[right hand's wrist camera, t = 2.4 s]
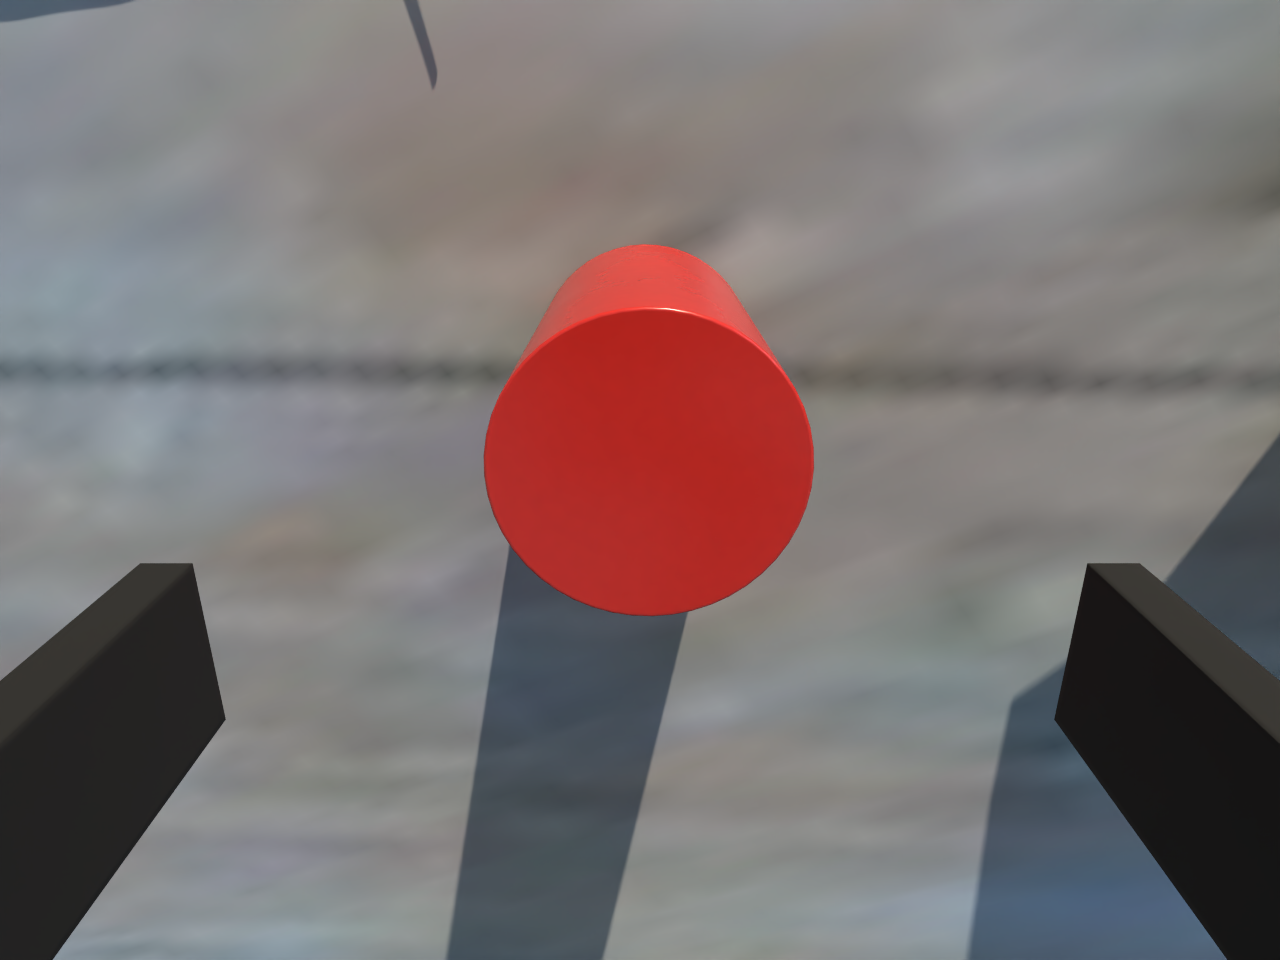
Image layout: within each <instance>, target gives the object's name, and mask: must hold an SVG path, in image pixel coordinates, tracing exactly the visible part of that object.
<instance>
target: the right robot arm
mask: <svg viewBox="0 0 1280 960" xmlns="http://www.w3.org/2000/svg"><path fill="white" fill-rule="evenodd" d="M225 720H226V719H225V714H224V709H223V705H222V700H221V695H220V691H219V686H218V681H217V676H216V672H215V667H214V662H213V658H212V653H211V648H210V644H209V639H208V634H207V629H206V625H205V620H204V615H203V611H202V606H201V601H200V596H199V592H198V587H197V582H196V578H195V573H194V568H193V563H140V564H139V565H138V566H137V567H135V568H134V569H133V570H132V571H131V572H130V573H128V574H127V575H126V576H125V577H124V578H122V579H121V580H120V581H119V582H118V583H116V584H115V585H114V586H113V587H112V588H110V589H109V590H108V591H107V592H106V593H105V594H103V595H102V596H101V597H100V598H99V599H97V600H96V601H95V602H94V603H93V604H91V605H90V606H89V607H88V608H87V609H85V610H84V611H83V612H82V613H81V614H79V615H78V616H77V617H76V618H75V619H74V620H72V621H71V622H70V623H69V624H68V625H66V626H65V627H64V628H63V629H62V630H60V631H59V632H58V633H57V634H56V635H54V636H53V637H52V638H51V639H50V640H49V641H47V642H46V643H45V644H44V645H43V646H41V647H40V648H39V649H38V650H37V651H35V652H34V653H33V654H32V655H31V656H29V657H28V658H27V659H26V660H25V661H24V662H22V663H21V664H20V665H19V666H18V667H16V668H15V669H14V670H13V671H12V672H10V673H9V674H8V675H7V676H6V677H4V678H3V679H2V680H1V681H0V960H53V958H54V957H55V956H56V954H57V953H58V951H59V950H60V949H61V947H62V946H63V945H64V943H65V942H66V940H67V939H68V938H69V936H70V935H71V933H72V932H73V931H74V929H75V928H76V926H77V925H78V924H79V922H80V921H81V920H82V918H83V917H84V915H85V914H86V913H87V911H88V910H89V908H90V907H91V906H92V904H93V903H94V901H95V900H96V899H97V897H98V896H99V895H100V893H101V892H102V890H103V889H104V888H105V886H106V885H107V883H108V882H109V881H110V879H111V878H112V876H113V875H114V874H115V872H116V871H117V870H118V868H119V867H120V865H121V864H122V863H123V861H124V860H125V858H126V857H127V856H128V854H129V853H130V851H131V850H132V849H133V847H134V846H135V845H136V843H137V842H138V840H139V839H140V838H141V836H142V835H143V833H144V832H145V831H146V829H147V828H148V826H149V825H150V824H151V822H152V821H153V820H154V818H155V817H156V815H157V814H158V813H159V811H160V810H161V808H162V807H163V806H164V804H165V803H166V801H167V800H168V799H169V797H170V796H171V795H172V793H173V792H174V790H175V789H176V788H177V786H178V785H179V783H180V782H181V781H182V779H183V778H184V776H185V775H186V774H187V772H188V771H189V770H190V768H191V767H192V765H193V764H194V763H195V761H196V760H197V758H198V757H199V756H200V754H201V753H202V751H203V750H204V749H205V747H206V746H207V745H208V743H209V742H210V740H211V739H212V738H213V736H214V735H215V733H216V732H217V731H218V729H219V728H220V726H221V725H222V724H223V722H224V721H225ZM1054 720H1055V721H1056V722H1057V724H1058V725H1059V726H1060V728H1061V729H1062V731H1063V732H1064V733H1065V735H1066V736H1067V738H1068V739H1069V740H1070V742H1071V743H1072V745H1073V746H1074V747H1075V749H1076V750H1077V751H1078V753H1079V754H1080V756H1081V757H1082V758H1083V760H1084V761H1085V763H1086V764H1087V765H1088V767H1089V768H1090V770H1091V771H1092V772H1093V774H1094V775H1095V776H1096V778H1097V779H1098V781H1099V782H1100V783H1101V785H1102V786H1103V788H1104V789H1105V790H1106V792H1107V793H1108V795H1109V796H1110V797H1111V799H1112V800H1113V801H1114V803H1115V804H1116V806H1117V807H1118V808H1119V810H1120V811H1121V813H1122V814H1123V815H1124V817H1125V818H1126V820H1127V821H1128V822H1129V824H1130V825H1131V826H1132V828H1133V829H1134V831H1135V832H1136V833H1137V835H1138V836H1139V838H1140V839H1141V840H1142V842H1143V843H1144V845H1145V846H1146V847H1147V849H1148V850H1149V851H1150V853H1151V854H1152V856H1153V857H1154V858H1155V860H1156V861H1157V863H1158V864H1159V865H1160V867H1161V868H1162V870H1163V871H1164V872H1165V874H1166V875H1167V876H1168V878H1169V879H1170V881H1171V882H1172V883H1173V885H1174V886H1175V888H1176V889H1177V890H1178V892H1179V893H1180V895H1181V896H1182V897H1183V899H1184V900H1185V901H1186V903H1187V904H1188V906H1189V907H1190V908H1191V910H1192V911H1193V913H1194V914H1195V915H1196V917H1197V918H1198V920H1199V921H1200V922H1201V924H1202V925H1203V926H1204V928H1205V929H1206V931H1207V932H1208V933H1209V935H1210V936H1211V938H1212V939H1213V940H1214V942H1215V943H1216V945H1217V946H1218V947H1219V949H1220V950H1221V951H1222V953H1223V954H1224V956H1225V957H1226V958H1227V960H1280V681H1279V680H1278V679H1277V678H1276V677H1274V676H1273V675H1272V674H1271V673H1270V672H1268V671H1267V670H1266V669H1265V668H1264V667H1262V666H1261V665H1260V664H1259V663H1258V662H1256V661H1255V660H1254V659H1253V658H1252V657H1251V656H1249V655H1248V654H1247V653H1246V652H1245V651H1243V650H1242V649H1241V648H1240V647H1239V646H1237V645H1236V644H1235V643H1234V642H1233V641H1231V640H1230V639H1229V638H1228V637H1227V636H1226V635H1224V634H1223V633H1222V632H1221V631H1220V630H1218V629H1217V628H1216V627H1215V626H1214V625H1212V624H1211V623H1210V622H1209V621H1208V620H1206V619H1205V618H1204V617H1203V616H1202V615H1201V614H1199V613H1198V612H1197V611H1196V610H1195V609H1193V608H1192V607H1191V606H1190V605H1189V604H1187V603H1186V602H1185V601H1184V600H1183V599H1181V598H1180V597H1179V596H1178V595H1177V594H1175V593H1174V592H1173V591H1172V590H1171V589H1170V588H1168V587H1167V586H1166V585H1165V584H1164V583H1162V582H1161V581H1160V580H1159V579H1158V578H1156V577H1155V576H1154V575H1153V574H1152V573H1150V572H1149V571H1148V570H1147V569H1146V568H1145V567H1143V566H1142V565H1141V564H1140V563H1087V568H1086V573H1085V578H1084V582H1083V587H1082V592H1081V596H1080V601H1079V606H1078V611H1077V615H1076V620H1075V625H1074V629H1073V634H1072V639H1071V644H1070V648H1069V653H1068V658H1067V662H1066V667H1065V672H1064V676H1063V681H1062V686H1061V691H1060V695H1059V700H1058V705H1057V709H1056V714H1055V719H1054Z"/></svg>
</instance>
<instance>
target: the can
mask: <svg viewBox="0 0 1280 960" xmlns="http://www.w3.org/2000/svg"><path fill="white" fill-rule="evenodd" d="M813 471H814V447H813V441H812V435H811V429H810V425H809V422H808V418H807V415H806V412H805V409H804V406H803V404H802V402H801V400H800V398H799V395H798V393H797V391H796V389H795V387H794V386H793V384H792V383H791V381H790V380H789V378H788V376H787V375H786V373H785V372H784V370H783V369H782V367H781V365H780V364H779V362H778V361H777V359H776V358H775V356H774V354H773V353H772V351H771V350H770V348H769V347H768V345H767V344H766V342H765V340H764V339H763V337H762V336H761V334H760V333H759V331H758V329H757V328H756V326H755V325H754V323H753V322H752V320H751V318H750V317H749V315H748V314H747V312H746V311H745V309H744V307H743V306H742V304H741V303H740V301H739V300H738V298H737V297H736V295H735V293H734V292H733V290H732V289H731V287H730V286H729V285H728V284H727V282H726V281H725V280H724V279H723V278H722V277H721V276H720V275H719V274H718V273H717V272H716V271H715V270H714V269H712V268H711V267H710V266H709V265H707V264H706V263H704V262H703V261H701V260H700V259H698V258H696V257H694V256H692V255H690V254H688V253H686V252H683V251H680V250H677V249H674V248H670V247H665V246H659V245H633V246H626V247H622V248H618V249H614V250H611V251H609V252H606V253H603V254H601V255H599V256H597V257H595V258H594V259H592V260H590V261H588V262H587V263H586V264H584V265H583V266H581V267H580V268H579V269H577V270H576V271H575V272H574V273H573V274H572V275H571V276H570V277H569V278H568V279H567V280H566V282H565V283H564V284H563V285H562V287H561V288H560V289H559V290H558V292H557V294H556V296H555V297H554V299H553V301H552V302H551V304H550V306H549V308H548V309H547V311H546V313H545V315H544V317H543V318H542V320H541V322H540V324H539V326H538V327H537V329H536V331H535V333H534V334H533V336H532V338H531V340H530V342H529V343H528V345H527V347H526V349H525V351H524V352H523V354H522V356H521V358H520V359H519V361H518V363H517V365H516V367H515V368H514V370H513V372H512V374H511V376H510V377H509V379H508V381H507V383H506V385H505V386H504V388H503V390H502V392H501V393H500V395H499V398H498V400H497V402H496V405H495V407H494V410H493V412H492V414H491V418H490V422H489V426H488V429H487V433H486V440H485V449H484V477H485V483H486V489H487V495H488V498H489V501H490V505H491V508H492V511H493V514H494V516H495V519H496V521H497V523H498V525H499V527H500V529H501V531H502V533H503V535H504V536H505V538H506V540H507V541H508V543H509V544H510V546H511V547H512V549H513V550H514V551H515V553H516V554H517V555H518V556H519V557H520V558H521V560H522V561H523V562H524V563H525V564H526V565H527V566H528V567H529V568H530V569H531V570H532V571H533V572H534V573H535V574H536V575H537V576H538V577H540V578H541V579H542V580H543V581H545V582H546V583H548V584H549V585H550V586H552V587H553V588H555V589H556V590H557V591H559V592H561V593H563V594H565V595H567V596H568V597H570V598H572V599H574V600H576V601H579V602H581V603H584V604H586V605H589V606H591V607H594V608H598V609H601V610H605V611H609V612H613V613H619V614H626V615H635V616H660V615H672V614H677V613H682V612H688V611H692V610H695V609H699V608H702V607H705V606H708V605H711V604H713V603H715V602H718V601H720V600H722V599H724V598H726V597H729V596H730V595H732V594H734V593H735V592H737V591H739V590H740V589H742V588H744V587H745V586H747V585H748V584H749V583H751V582H752V581H753V580H754V579H756V578H757V577H758V576H760V575H761V574H762V573H763V572H764V571H765V570H766V569H767V568H768V567H769V566H770V565H771V564H772V563H773V562H774V561H775V560H776V559H777V558H778V556H779V555H780V554H781V552H782V551H783V550H784V548H785V547H786V546H787V545H788V543H789V542H790V540H791V538H792V536H793V535H794V533H795V531H796V529H797V528H798V526H799V524H800V521H801V519H802V517H803V514H804V512H805V509H806V507H807V503H808V499H809V495H810V492H811V488H812V479H813Z"/></svg>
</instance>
